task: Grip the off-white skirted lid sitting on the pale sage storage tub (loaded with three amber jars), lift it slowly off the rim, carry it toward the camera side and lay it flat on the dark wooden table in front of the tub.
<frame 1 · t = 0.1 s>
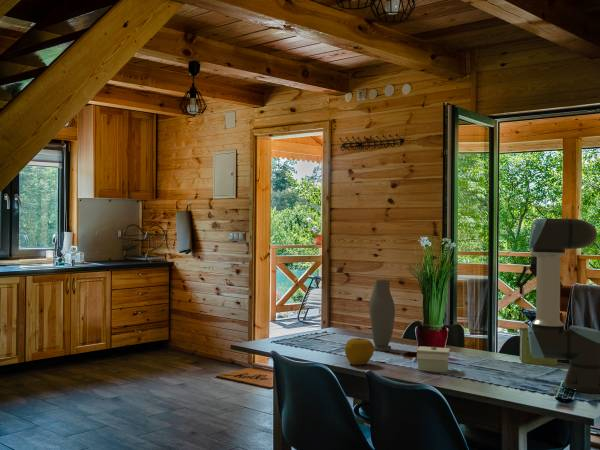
hand: (538, 302, 294), 28 cm above the table, fingers open, 13 cm apart
vase: (381, 349, 323), on the table
protein box: (538, 362, 296), on the table
lid: (433, 352, 273), point 7 cm above the table, touching tub
apple: (358, 364, 281), on the table
tub: (433, 369, 273), on the table
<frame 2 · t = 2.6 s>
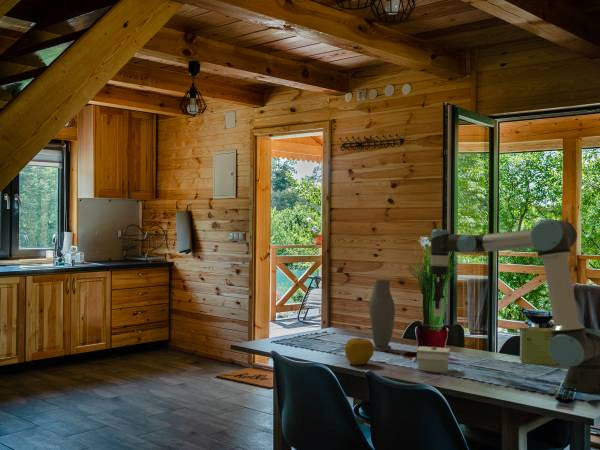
hand: (438, 314, 275), 23 cm above the table, fingers open, 13 cm apart
nothing on the table moved.
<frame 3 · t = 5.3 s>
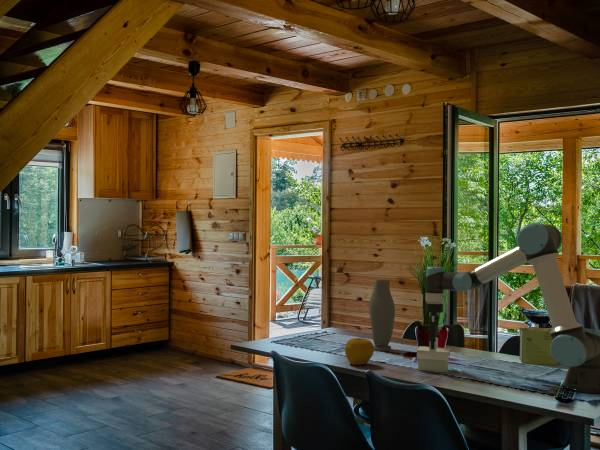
hand: (433, 354, 273), 6 cm above the table, fingers closed on lid, 10 cm apart
lid: (433, 352, 273), point 8 cm above the table, touching gripper, tub
everything else where it was.
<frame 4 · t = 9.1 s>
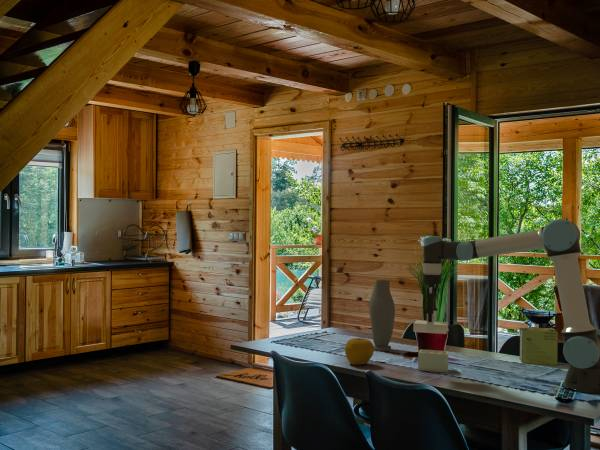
hand: (431, 328, 259), 19 cm above the table, fingers closed on lid, 10 cm apart
lid: (431, 325, 259), point 21 cm above the table, touching gripper
everything else where it was.
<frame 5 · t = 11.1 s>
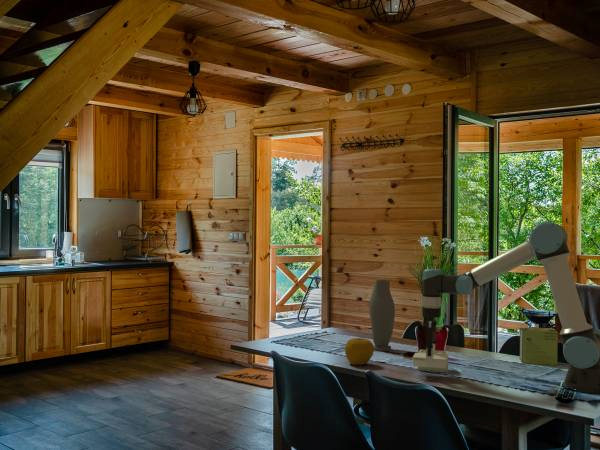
hand: (430, 361, 259), 6 cm above the table, fingers closed on lid, 10 cm apart
lid: (430, 358, 259), point 7 cm above the table, touching gripper
everything else where it was.
when the fingers open (3 cm above the table, at t = 12.9 s): lid drops 2 cm, point 2 cm above the table.
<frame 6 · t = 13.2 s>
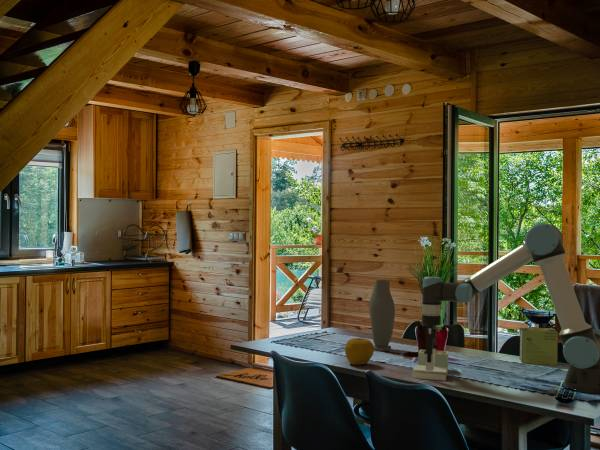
hand: (430, 367, 259), 4 cm above the table, fingers open, 13 cm apart
lid: (430, 371, 259), point 2 cm above the table
everything else where it was.
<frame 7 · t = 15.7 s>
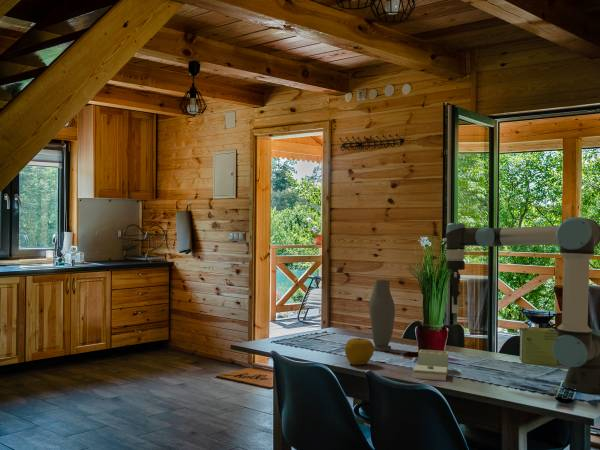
hand: (455, 311, 265), 26 cm above the table, fingers open, 13 cm apart
nothing on the table moved.
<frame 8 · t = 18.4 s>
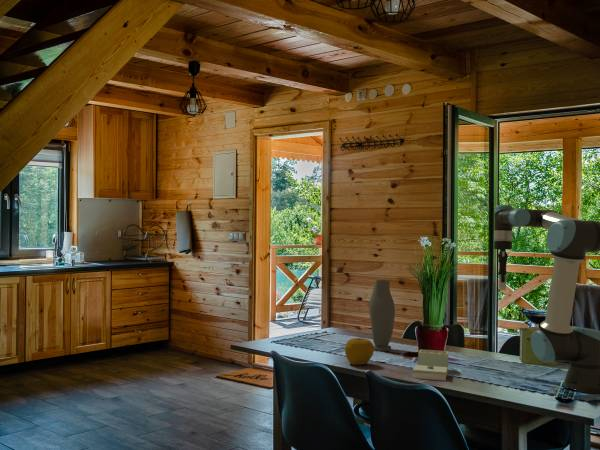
hand: (502, 289, 279), 35 cm above the table, fingers open, 13 cm apart
nothing on the table moved.
at the end: lid inside the target area (0.5 cm from its centre), point 2.1 cm above the table; lid tilted 0°; lid touching table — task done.
